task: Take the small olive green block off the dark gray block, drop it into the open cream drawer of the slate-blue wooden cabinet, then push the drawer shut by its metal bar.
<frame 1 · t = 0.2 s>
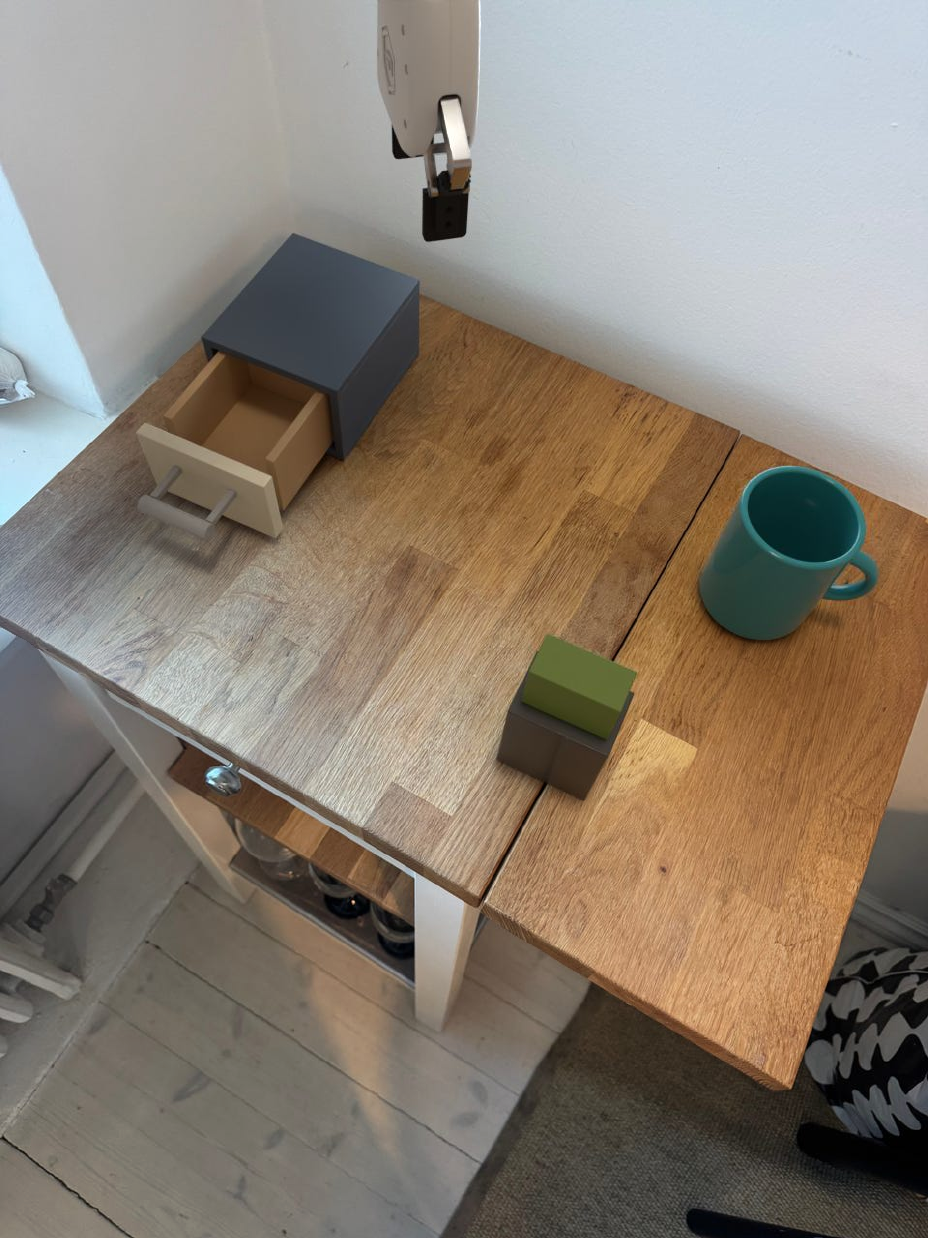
hand: (428, 194, 68), 18 cm above the table, tool pointing down, fingers open, 9 cm apart
cup: (768, 601, 73), on the table
drawer: (237, 448, 73), point 4 cm above the table, slide at 9.0 cm
olive green block: (571, 701, 58), point 9 cm above the table, touching dark gray block
dark gray block: (552, 751, 66), on the table
cabinet: (322, 380, 82), on the table
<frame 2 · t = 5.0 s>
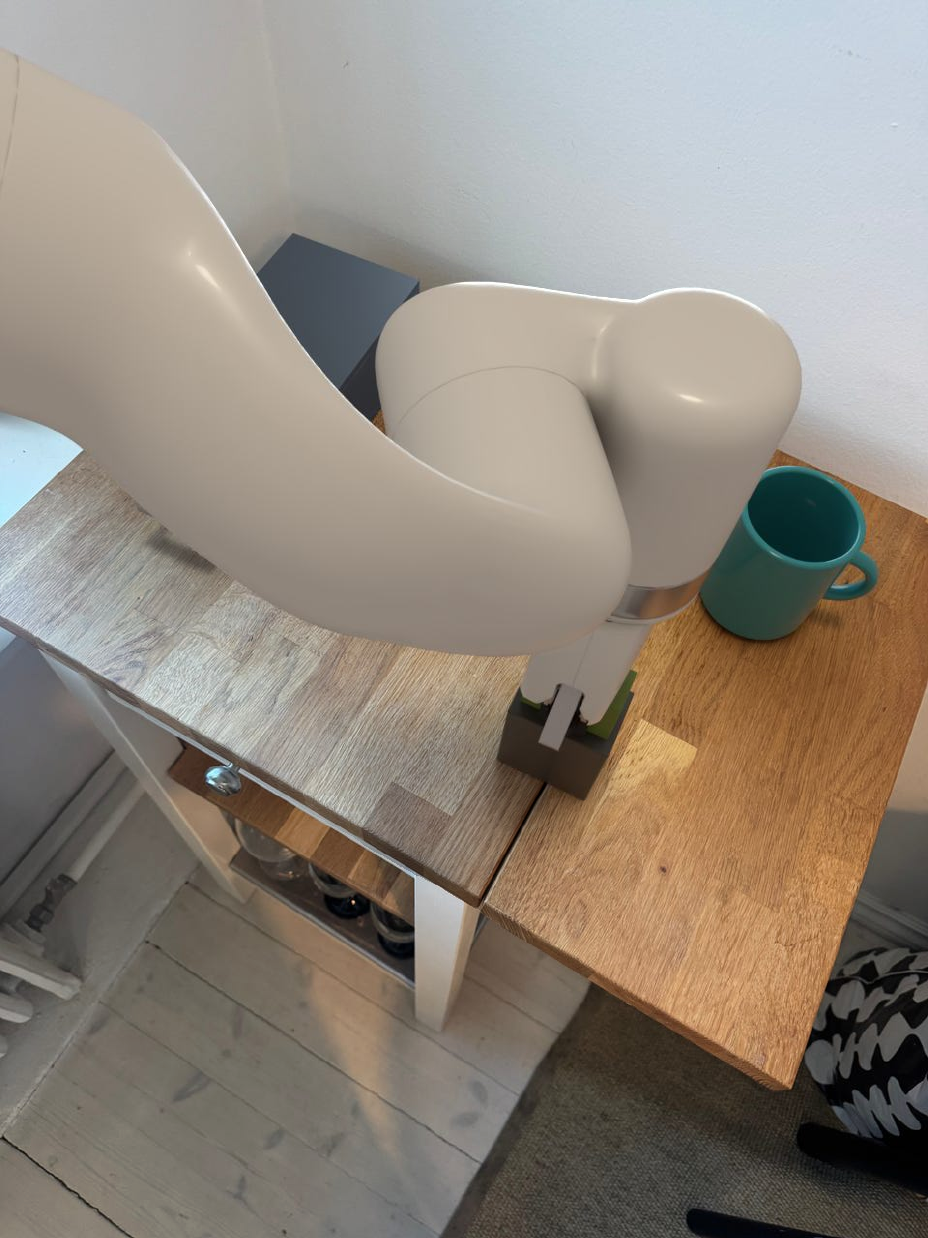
hand: (572, 699, 58), 9 cm above the table, tool pointing down, fingers closed on olive green block, 3 cm apart
olive green block: (571, 701, 58), point 9 cm above the table, touching gripper, dark gray block
everything else where it was.
when the fingers open (3 cm above the table, at t = 14.0 s): olive green block moves 1 cm, resting on drawer.
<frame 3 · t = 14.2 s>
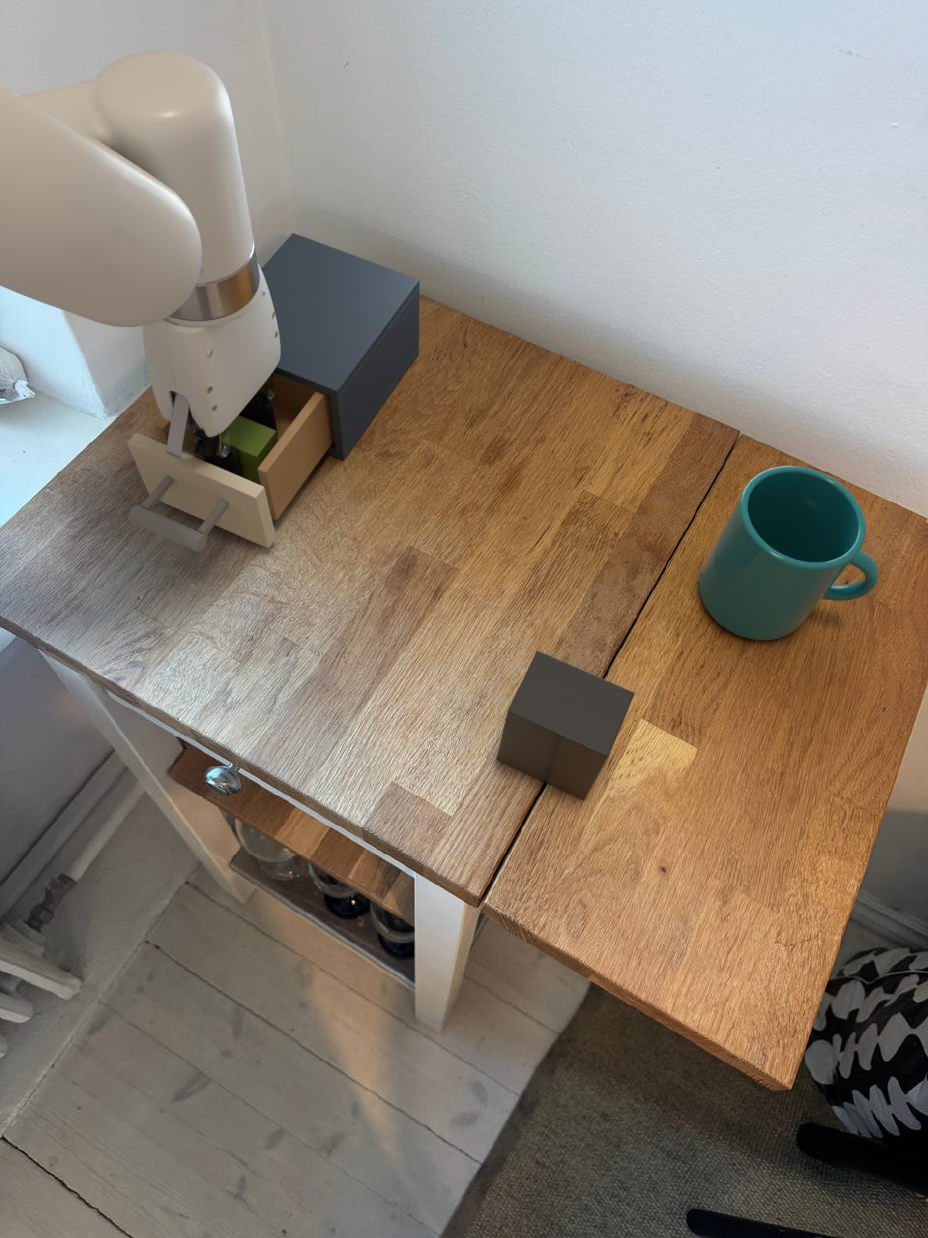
hand: (242, 452, 74), 3 cm above the table, tool pointing down, fingers open, 4 cm apart
drawer: (230, 458, 72), point 4 cm above the table, slide at 10.1 cm, touching gripper, olive green block
olive green block: (243, 465, 75), point 2 cm above the table, touching drawer
everything else where it was.
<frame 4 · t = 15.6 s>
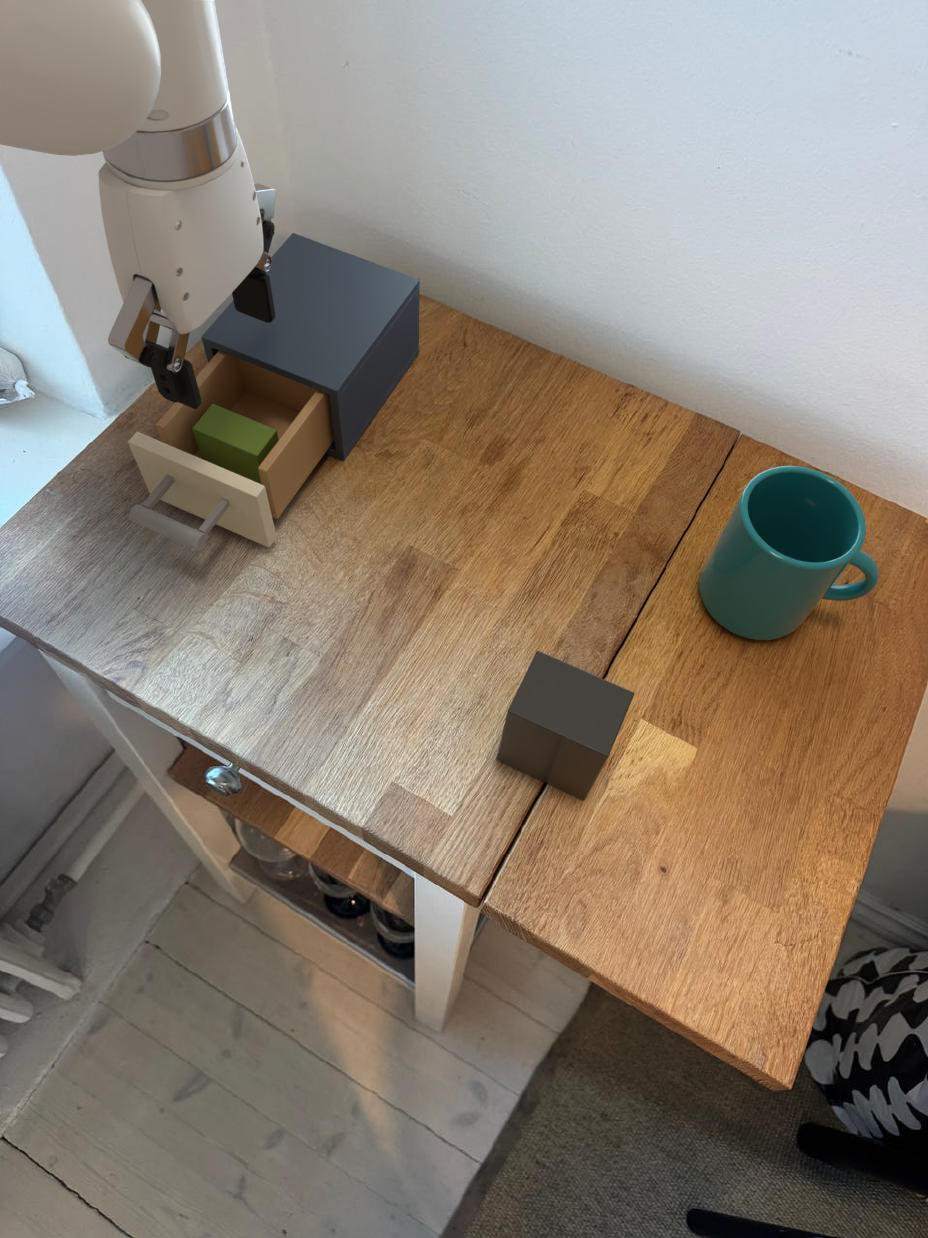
hand: (219, 355, 65), 14 cm above the table, tool pointing down, fingers open, 9 cm apart
drawer: (230, 457, 72), point 4 cm above the table, slide at 10.0 cm, touching olive green block
everything else where it was.
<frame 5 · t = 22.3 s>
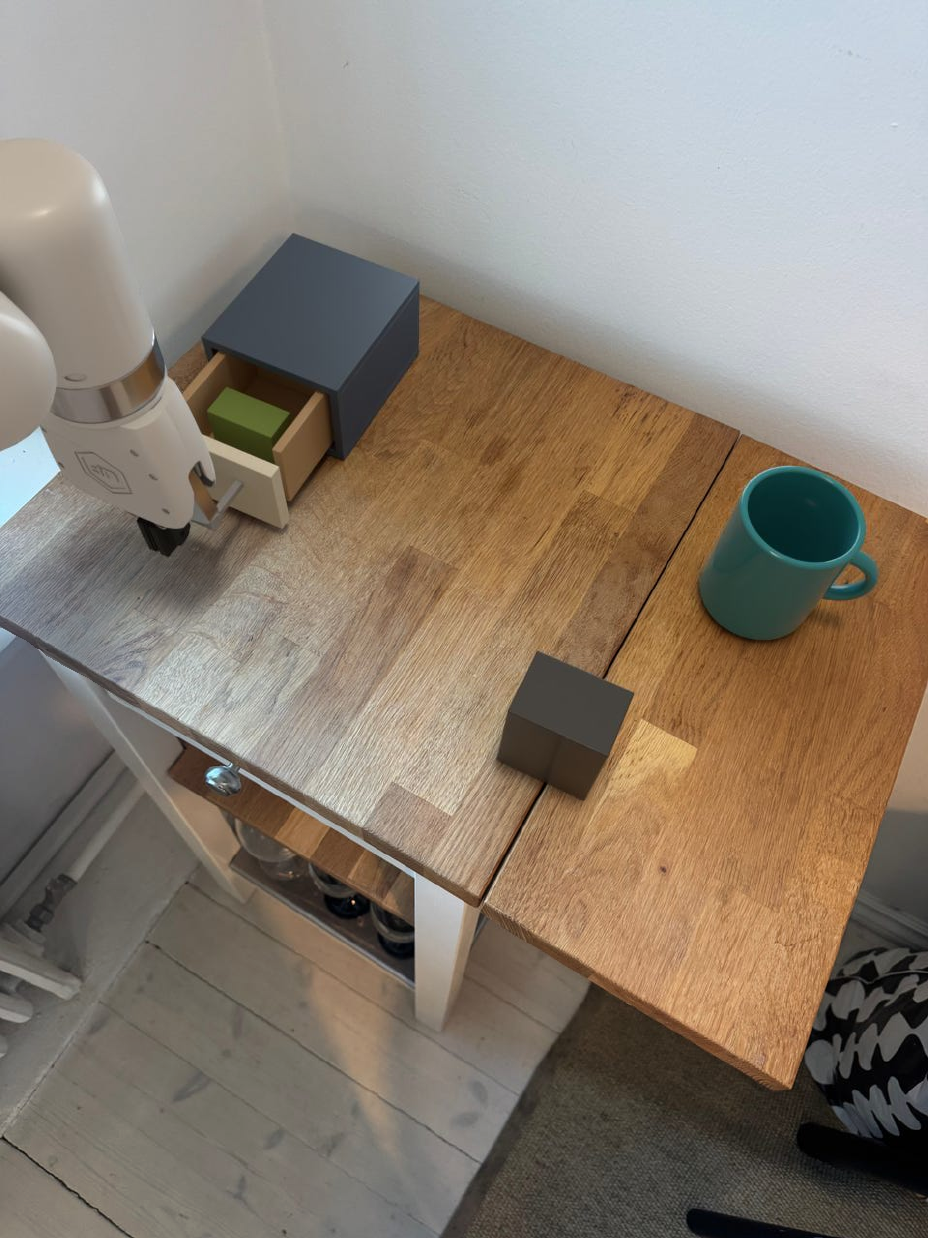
hand: (170, 539, 69), 4 cm above the table, tool pointing down, fingers closed
drawer: (244, 439, 73), point 4 cm above the table, slide at 8.0 cm, touching gripper, olive green block
olive green block: (256, 448, 76), point 2 cm above the table, touching drawer
everything else where it was.
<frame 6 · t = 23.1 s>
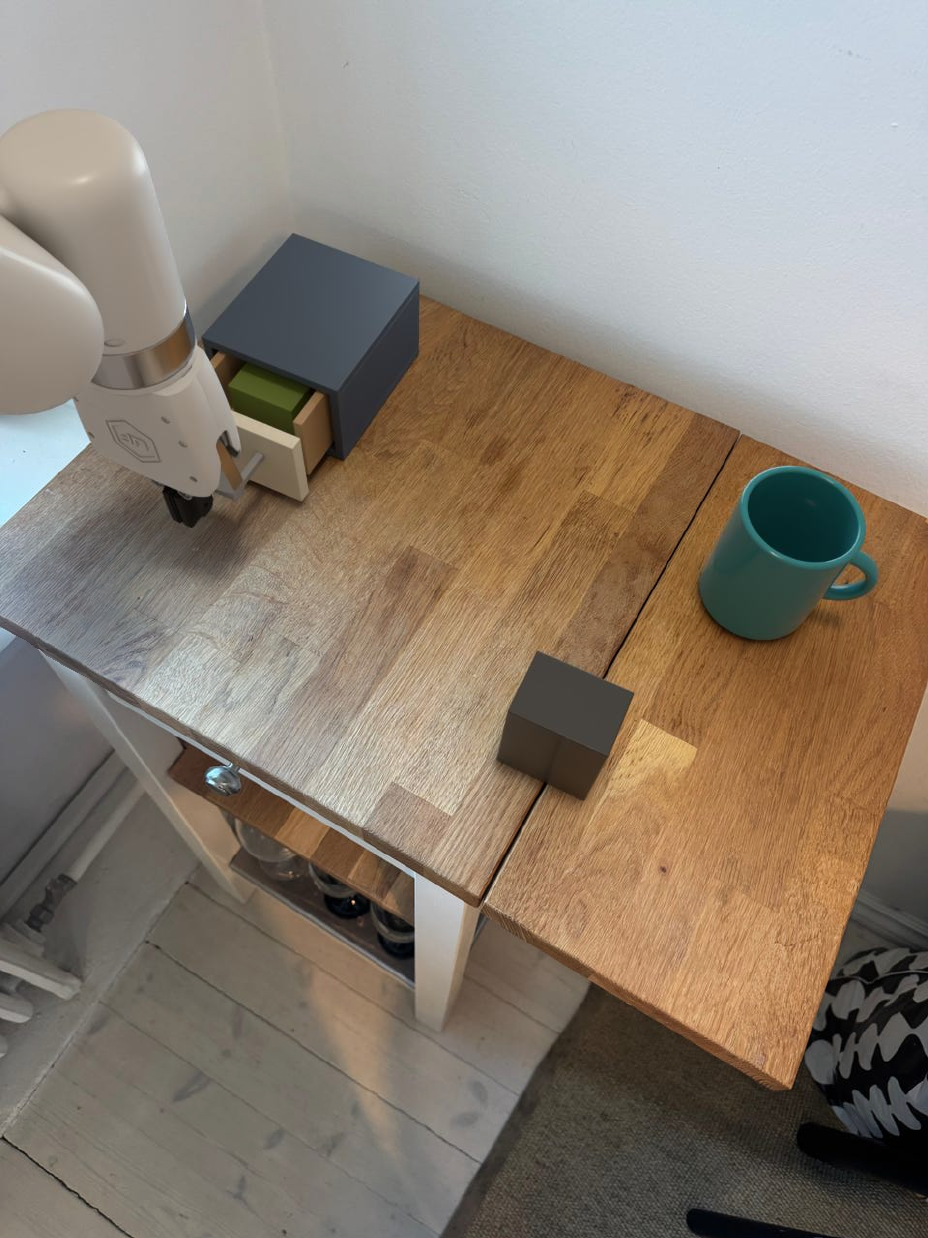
hand: (194, 511, 70), 4 cm above the table, tool pointing down, fingers closed
drawer: (264, 414, 75), point 4 cm above the table, slide at 4.8 cm, touching gripper, olive green block
olive green block: (275, 423, 77), point 2 cm above the table, touching drawer
everything else where it was.
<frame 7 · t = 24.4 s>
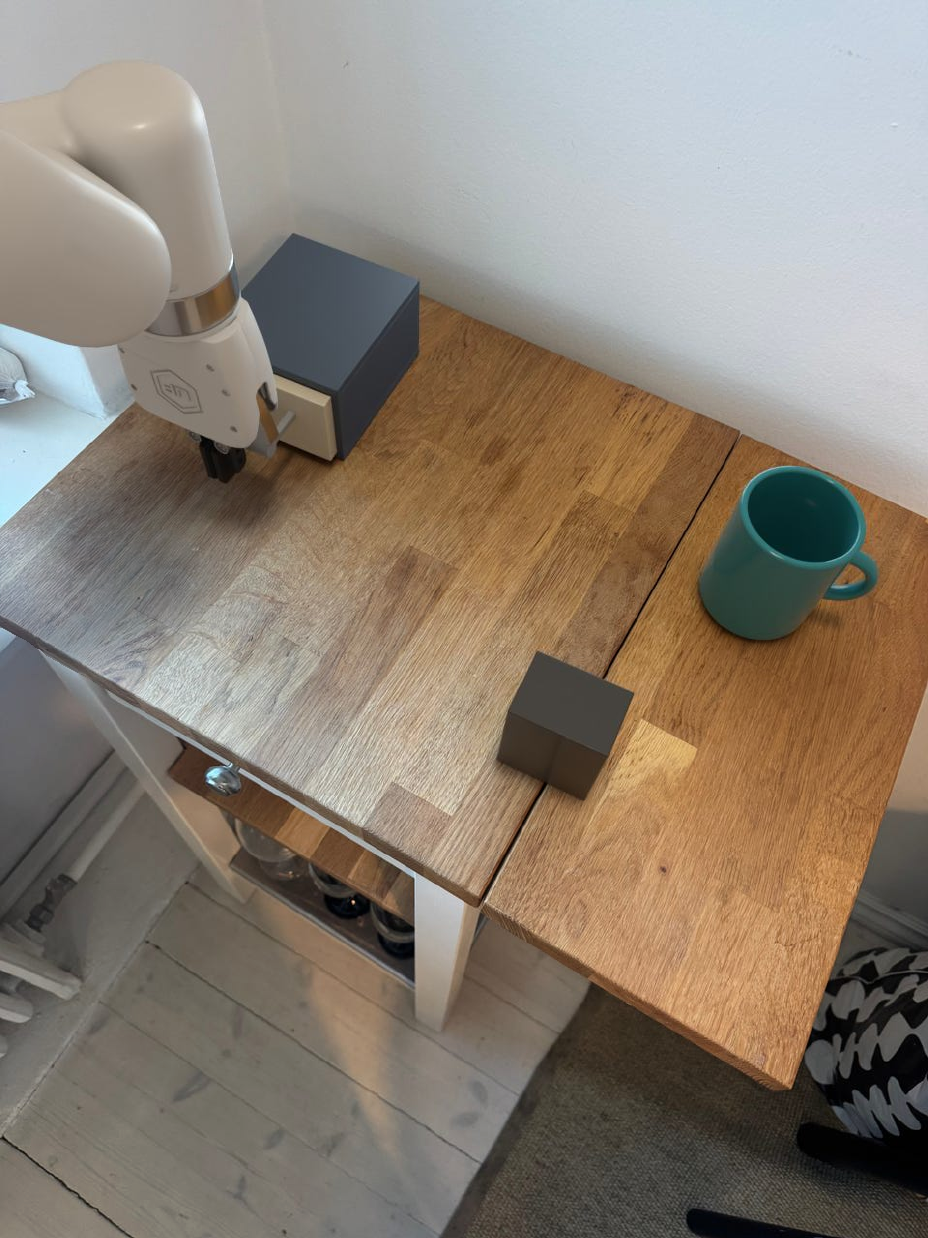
hand: (227, 468, 72), 4 cm above the table, tool pointing down, fingers closed
drawer: (294, 376, 77), point 4 cm above the table, slide at 0.0 cm, touching cabinet, gripper, olive green block
olive green block: (304, 386, 79), point 2 cm above the table, touching drawer
everything else where it was.
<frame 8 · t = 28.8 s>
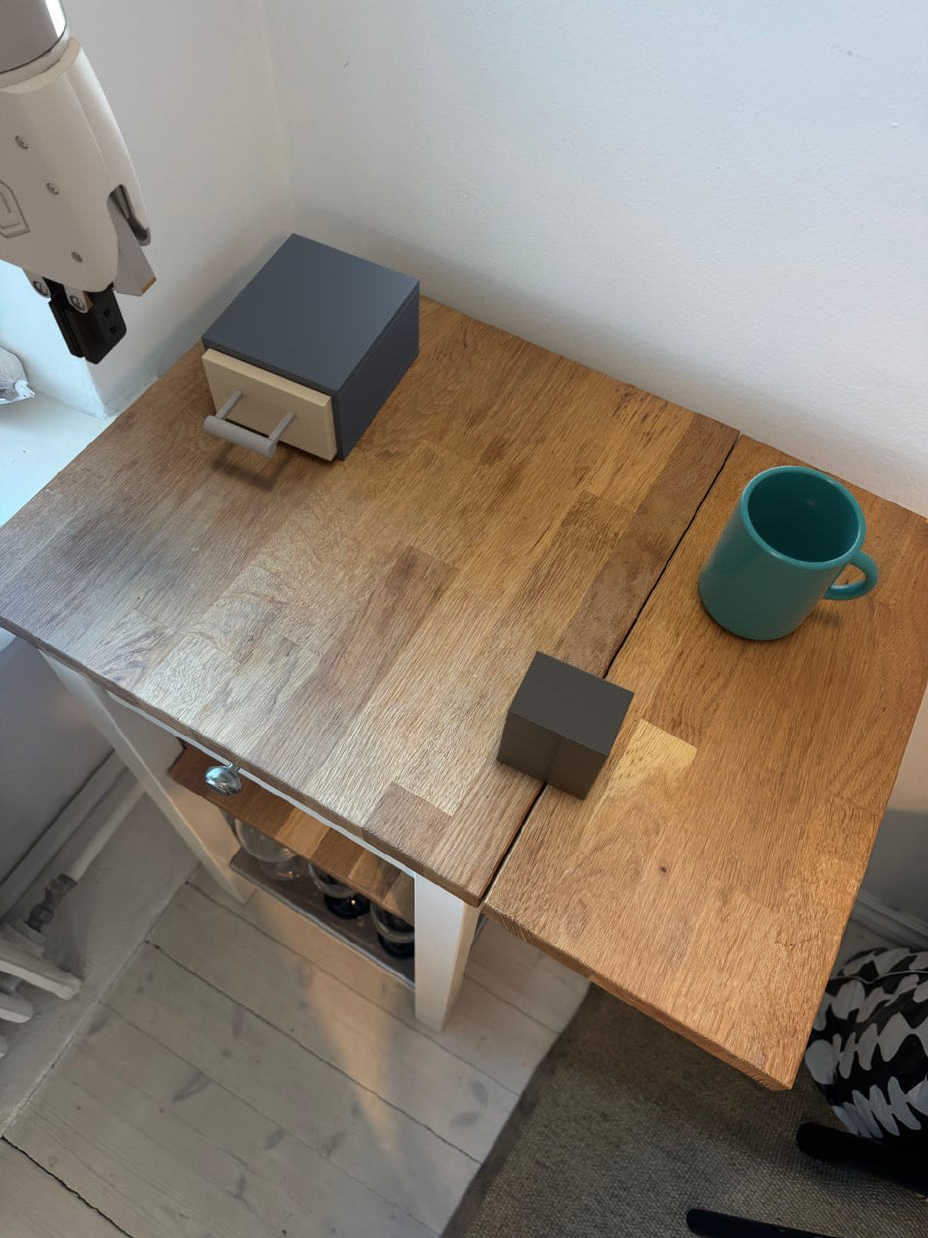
hand: (100, 344, 52), 23 cm above the table, tool pointing down, fingers closed
drawer: (294, 376, 77), point 4 cm above the table, slide at 0.0 cm, touching cabinet, olive green block
everything else where it was.
at the end: olive green block inside the target area in the cabinet (2.4 cm from its centre), point 2.0 cm above the cabinet's base; drawer slide at 0.0 cm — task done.
